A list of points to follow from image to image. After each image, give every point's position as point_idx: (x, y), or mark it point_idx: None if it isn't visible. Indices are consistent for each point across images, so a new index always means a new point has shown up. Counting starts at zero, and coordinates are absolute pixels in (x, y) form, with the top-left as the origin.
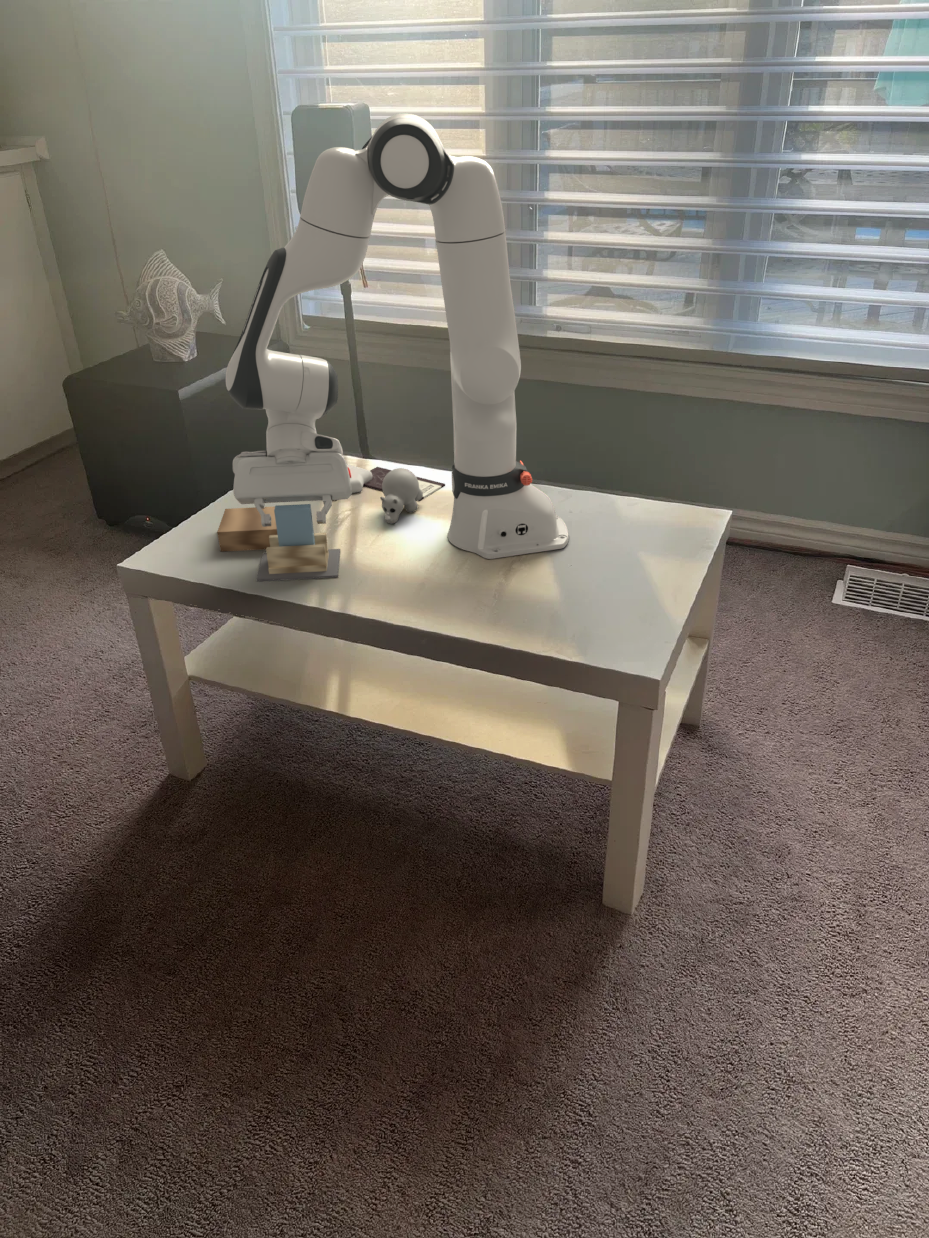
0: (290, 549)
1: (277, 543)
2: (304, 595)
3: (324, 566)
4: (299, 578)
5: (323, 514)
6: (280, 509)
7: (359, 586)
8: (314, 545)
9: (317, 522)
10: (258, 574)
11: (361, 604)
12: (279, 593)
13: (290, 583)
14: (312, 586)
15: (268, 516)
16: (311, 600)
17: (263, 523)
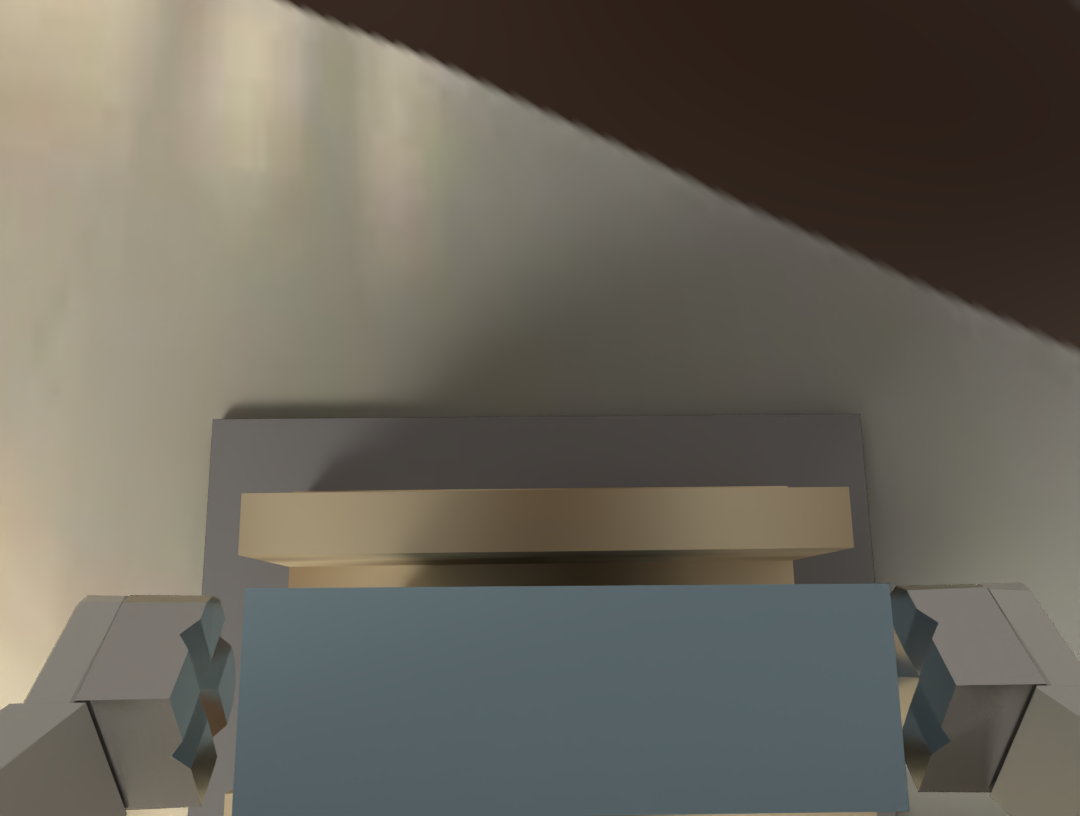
0: (597, 490)
1: None
2: (465, 184)
3: (308, 492)
4: (522, 417)
5: (71, 657)
6: (781, 617)
7: (58, 270)
8: (347, 539)
9: (219, 618)
10: (860, 493)
11: (62, 32)
12: (650, 228)
13: (586, 365)
14: (414, 304)
15: (957, 648)
16: (411, 114)
17: (989, 586)
